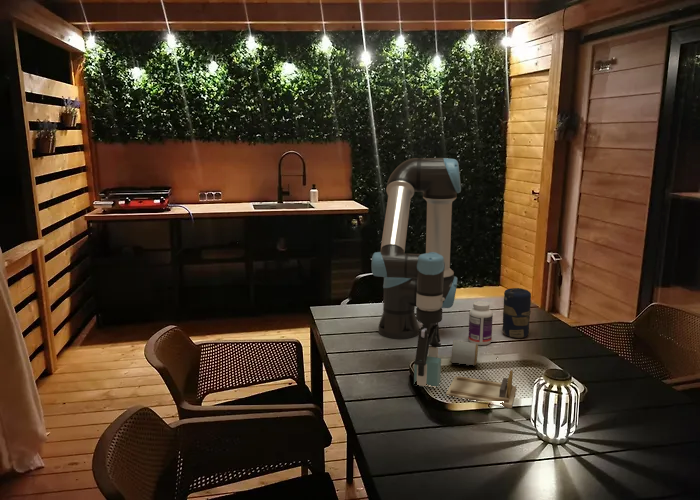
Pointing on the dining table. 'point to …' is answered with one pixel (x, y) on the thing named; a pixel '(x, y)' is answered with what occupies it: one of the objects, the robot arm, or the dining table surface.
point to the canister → (516, 312)
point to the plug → (431, 371)
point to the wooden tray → (483, 390)
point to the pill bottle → (480, 323)
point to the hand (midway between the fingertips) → (427, 376)
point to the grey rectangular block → (464, 352)
